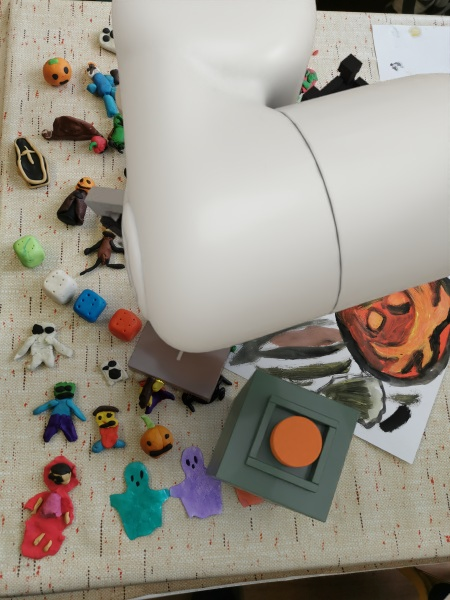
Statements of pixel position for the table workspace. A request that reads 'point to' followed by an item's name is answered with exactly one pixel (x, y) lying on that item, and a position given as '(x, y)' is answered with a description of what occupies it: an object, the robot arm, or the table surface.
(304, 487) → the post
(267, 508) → the table surface
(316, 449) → the button
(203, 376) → the panel
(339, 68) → the chess piece
